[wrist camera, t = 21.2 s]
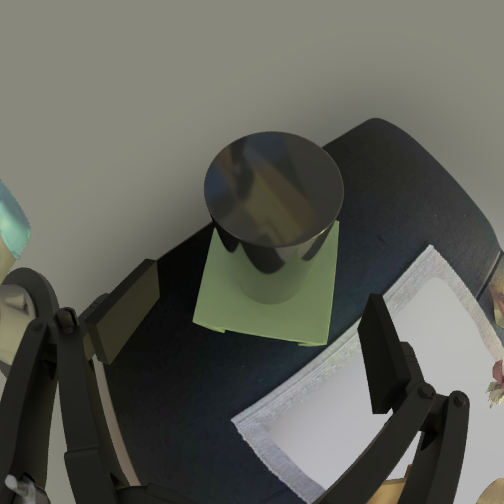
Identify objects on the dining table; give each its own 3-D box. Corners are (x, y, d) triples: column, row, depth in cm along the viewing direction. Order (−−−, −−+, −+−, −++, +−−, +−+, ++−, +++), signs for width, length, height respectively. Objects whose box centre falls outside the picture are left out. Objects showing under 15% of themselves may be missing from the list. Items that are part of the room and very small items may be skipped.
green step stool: (212, 330, 33) (192, 321, 24) (231, 241, 37) (220, 203, 28) (309, 346, 32) (326, 344, 23) (321, 254, 36) (339, 220, 27)
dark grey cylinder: (228, 298, 25) (187, 234, 12) (242, 232, 27) (222, 125, 14) (300, 309, 24) (341, 258, 11) (309, 242, 26) (344, 141, 13)
